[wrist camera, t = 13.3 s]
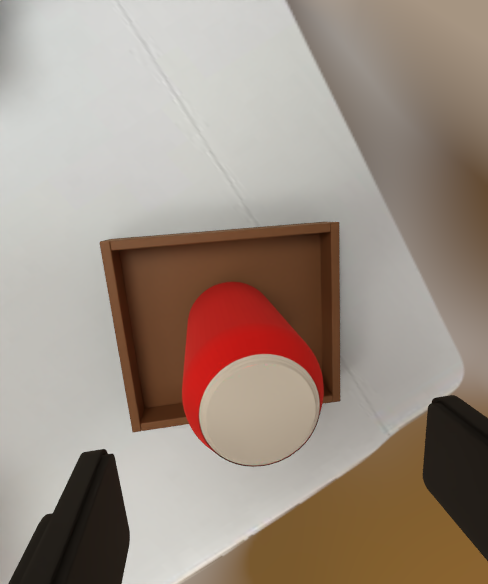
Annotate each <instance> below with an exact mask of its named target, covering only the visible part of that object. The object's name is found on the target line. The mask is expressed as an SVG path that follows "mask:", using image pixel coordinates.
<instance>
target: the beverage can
mask: <svg viewBox="0 0 488 584" xmlns="http://www.w3.org/2000/svg"><path fill="white" fill-rule="evenodd" d="M323 395H324V385H323V377H322V372H321V369H320V366H319V363H318V361H317V359H316V357H315V355H314V353H313V352H312V350H311V349H310V347H309V346H308V345H307V344H306V342H305V341H304V340H303V339H302V338H301V337H300V336H299V335H298V333H297V332H296V331H295V330H294V329H293V328H292V327H291V325H290V324H289V323H288V322H287V321H286V320H285V319H284V317H283V316H282V315H281V314H280V313H279V312H278V311H277V309H276V308H275V307H274V306H273V305H272V304H271V303H270V301H269V300H268V299H267V298H266V297H265V296H264V295H263V294H262V293H261V292H260V291H259V290H257V289H256V288H254V287H252V286H250V285H248V284H245V283H240V282H224V283H220V284H217V285H214V286H212V287H210V288H209V289H207V290H206V291H204V292H203V293H202V294H201V295H200V296H199V297H198V298H197V299H196V301H195V302H194V304H193V306H192V308H191V310H190V313H189V317H188V324H187V336H186V348H185V360H184V372H183V384H182V401H183V407H184V412H185V415H186V418H187V420H188V422H189V424H190V426H191V428H192V430H193V431H194V433H195V434H196V436H197V437H198V438H199V439H200V440H201V441H202V442H203V443H204V444H205V445H206V446H207V447H208V448H210V449H211V450H212V451H214V452H215V453H216V454H218V455H219V456H220V457H222V458H224V459H225V460H227V461H229V462H232V463H235V464H238V465H243V466H265V465H270V464H273V463H276V462H279V461H281V460H284V459H286V458H287V457H289V456H291V455H292V454H294V453H295V452H296V451H298V450H299V449H300V448H301V447H302V446H303V445H304V444H305V443H306V442H307V440H308V439H309V438H310V436H311V435H312V433H313V431H314V429H315V427H316V425H317V422H318V419H319V415H320V411H321V407H322V403H323Z"/></svg>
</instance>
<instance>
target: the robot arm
mask: <svg viewBox="0 0 488 584" xmlns="http://www.w3.org/2000/svg"><path fill="white" fill-rule="evenodd" d="M423 480H424V483H425V485H426V487H427V489H428V490H429V491H430V492H431V494H432V495H433V496H434V497H435V498H436V500H437V501H438V502H439V503H440V504H441V506H442V507H443V508H444V509H445V510H446V512H447V513H448V514H449V515H450V516H451V518H452V519H453V520H454V521H455V522H456V524H457V525H458V526H459V527H460V528H461V530H462V531H463V532H464V533H465V534H466V536H467V537H468V538H469V539H470V540H471V541H472V543H473V544H474V545H475V546H476V548H478V550H479V551H480V552H481V554H482V555H483V556H484V557H485V558H486V559H487V561H488V418H487V417H485V416H484V415H482V414H481V413H479V412H478V411H477V410H475V409H474V408H472V407H471V406H470V405H468V404H467V403H465V402H464V401H463V400H461V399H460V398H458V397H457V396H454V395H450V396H444V397H437V398H434V399H433V400H432V403H431V404H430V405H429V406H428V414H427V427H426V440H425V453H424V465H423ZM129 541H130V532H129V526H128V521H127V516H126V511H125V506H124V501H123V496H122V491H121V486H120V481H119V476H118V471H117V466H116V461H115V457H114V455H113V454H107V451H106V450H105V449H102V450H95V451H89V452H83V453H82V454H81V456H80V457H79V459H78V462H77V464H76V466H75V468H74V470H73V472H72V474H71V476H70V478H69V480H68V483H67V485H66V487H65V489H64V491H63V493H62V495H61V497H60V499H59V502H58V504H57V506H56V508H55V510H54V512H53V513H52V514H47V515H45V516H44V517H43V518H42V520H41V521H40V523H39V524H38V526H37V528H36V530H35V532H34V534H33V536H32V538H31V540H30V542H29V544H28V546H27V548H26V550H25V552H24V554H23V556H22V558H21V560H20V562H19V564H18V566H17V568H16V570H15V572H14V574H13V576H12V578H11V580H10V582H9V584H121V583H122V578H123V573H124V568H125V563H126V558H127V553H128V548H129Z"/></svg>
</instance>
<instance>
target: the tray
mask: <svg viewBox="0 0 488 584" xmlns="http://www.w3.org/2000/svg"><path fill="white" fill-rule="evenodd" d="M100 248H101V253H102V259H103V265H104V271H105V276H106V282H107V288H108V293H109V299H110V305H111V311H112V316H113V322H114V328H115V334H116V339H117V345H118V351H119V356H120V362H121V368H122V374H123V379H124V385H125V391H126V397H127V402H128V408H129V414H130V419H131V425H132V431H133V432H138V431H141V430H142V431H145V430H151V429H158V428H164V427H171V426H178V425H184V424H189V422H188V420H187V418H186V415H185V412H184V407H183V401H182V384H183V372H184V360H185V348H186V336H187V324H188V317H189V313H190V310H191V308H192V306H193V304H194V302H195V301H196V299H197V298H198V297H199V296H200V295H201V294H202V293H203V292H204V291H206V290H207V289H209V288H210V287H212V286H214V285H217V284H220V283H224V282H240V283H245V284H248V285H250V286H252V287H254V288H256V289H257V290H259V291H260V292H261V293H262V294H263V295H264V296H265V297H266V298H267V299H268V300H269V301H270V303H271V304H272V305H273V306H274V307H275V308H276V309H277V311H278V312H279V313H280V314H281V315H282V316H283V317H284V319H285V320H286V321H287V322H288V323H289V324H290V325H291V327H292V328H293V329H294V330H295V331H296V332H297V333H298V335H299V336H300V337H301V338H302V339H303V340H304V341H305V342H306V344H307V345H308V346H309V347H310V349H311V350H312V352H313V353H314V355H315V357H316V359H317V361H318V363H319V366H320V369H321V372H322V377H323V385H324V395H323V403H330V402H337V401H340V283H339V222H316V223H304V224H291V225H279V226H267V227H254V228H242V229H230V230H217V231H205V232H193V233H180V234H168V235H156V236H143V237H131V238H119V239H109V240H105V241H101V242H100ZM323 403H322V404H323Z"/></svg>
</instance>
